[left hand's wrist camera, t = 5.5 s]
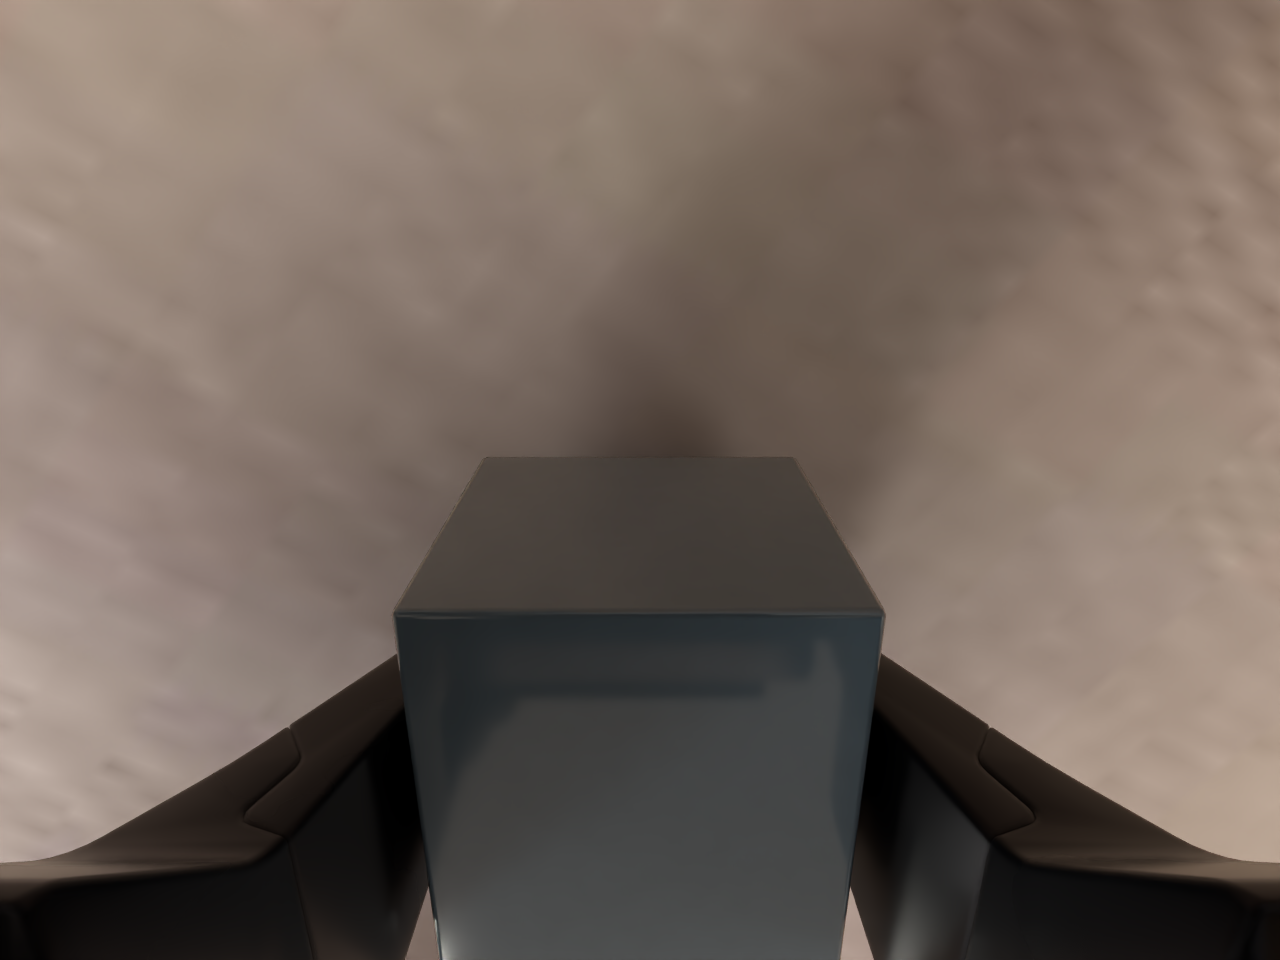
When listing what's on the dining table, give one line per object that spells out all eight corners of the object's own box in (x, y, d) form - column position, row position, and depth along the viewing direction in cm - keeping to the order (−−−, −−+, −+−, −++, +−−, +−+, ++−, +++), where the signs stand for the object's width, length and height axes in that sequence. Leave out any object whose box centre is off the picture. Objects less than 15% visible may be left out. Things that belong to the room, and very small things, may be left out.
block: (775, 735, 13) (838, 991, 9) (504, 735, 13) (439, 991, 9) (796, 455, 11) (889, 611, 7) (482, 455, 11) (386, 611, 7)
